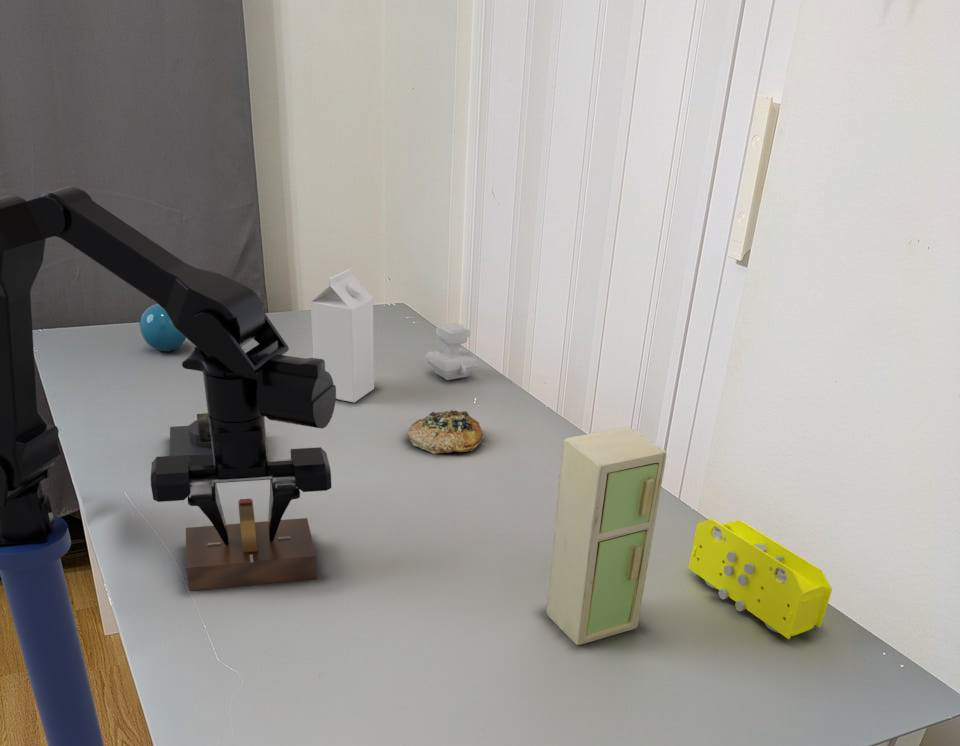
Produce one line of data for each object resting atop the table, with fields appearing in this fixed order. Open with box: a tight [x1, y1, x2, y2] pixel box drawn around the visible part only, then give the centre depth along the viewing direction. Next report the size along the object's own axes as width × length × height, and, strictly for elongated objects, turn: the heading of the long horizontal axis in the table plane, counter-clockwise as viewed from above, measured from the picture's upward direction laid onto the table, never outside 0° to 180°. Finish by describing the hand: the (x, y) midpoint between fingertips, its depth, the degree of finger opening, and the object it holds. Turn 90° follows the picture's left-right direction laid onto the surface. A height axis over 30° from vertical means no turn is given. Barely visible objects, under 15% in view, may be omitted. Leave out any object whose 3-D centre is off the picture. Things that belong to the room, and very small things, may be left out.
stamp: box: [425, 322, 479, 381], centre depth 160 cm, size 9×7×8 cm
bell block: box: [169, 419, 214, 466], centre depth 132 cm, size 12×10×4 cm
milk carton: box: [310, 267, 375, 403], centre depth 149 cm, size 7×7×19 cm
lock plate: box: [184, 517, 318, 592], centre depth 109 cm, size 14×9×3 cm, turn 105°
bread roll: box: [407, 409, 484, 454], centre depth 139 cm, size 11×11×5 cm
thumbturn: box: [237, 497, 258, 553], centre depth 107 cm, size 5×2×4 cm, turn 14°
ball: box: [139, 303, 187, 352], centre depth 164 cm, size 8×8×8 cm
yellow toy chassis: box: [688, 518, 833, 640], centre depth 105 cm, size 16×6×8 cm, turn 31°
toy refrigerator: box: [546, 426, 667, 646], centre depth 97 cm, size 8×7×21 cm
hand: (249, 541), depth 108 cm, fingers open, 5 cm apart
